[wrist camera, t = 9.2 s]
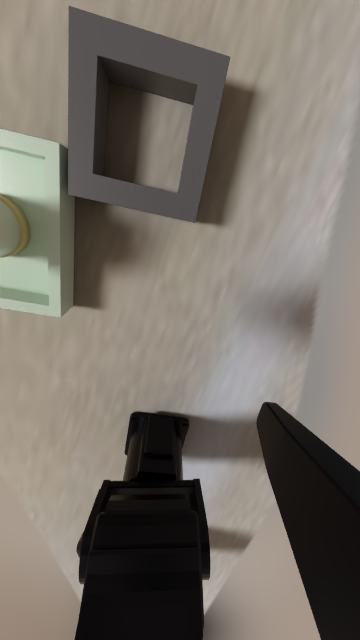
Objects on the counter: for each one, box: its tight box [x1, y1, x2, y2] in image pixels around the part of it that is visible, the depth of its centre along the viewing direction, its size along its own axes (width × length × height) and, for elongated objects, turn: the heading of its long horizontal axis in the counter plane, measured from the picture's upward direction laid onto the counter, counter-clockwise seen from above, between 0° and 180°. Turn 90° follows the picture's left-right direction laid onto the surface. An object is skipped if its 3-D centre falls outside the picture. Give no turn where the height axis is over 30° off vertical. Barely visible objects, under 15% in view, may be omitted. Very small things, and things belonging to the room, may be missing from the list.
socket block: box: [68, 6, 230, 223], centre depth 14 cm, size 8×8×2 cm
